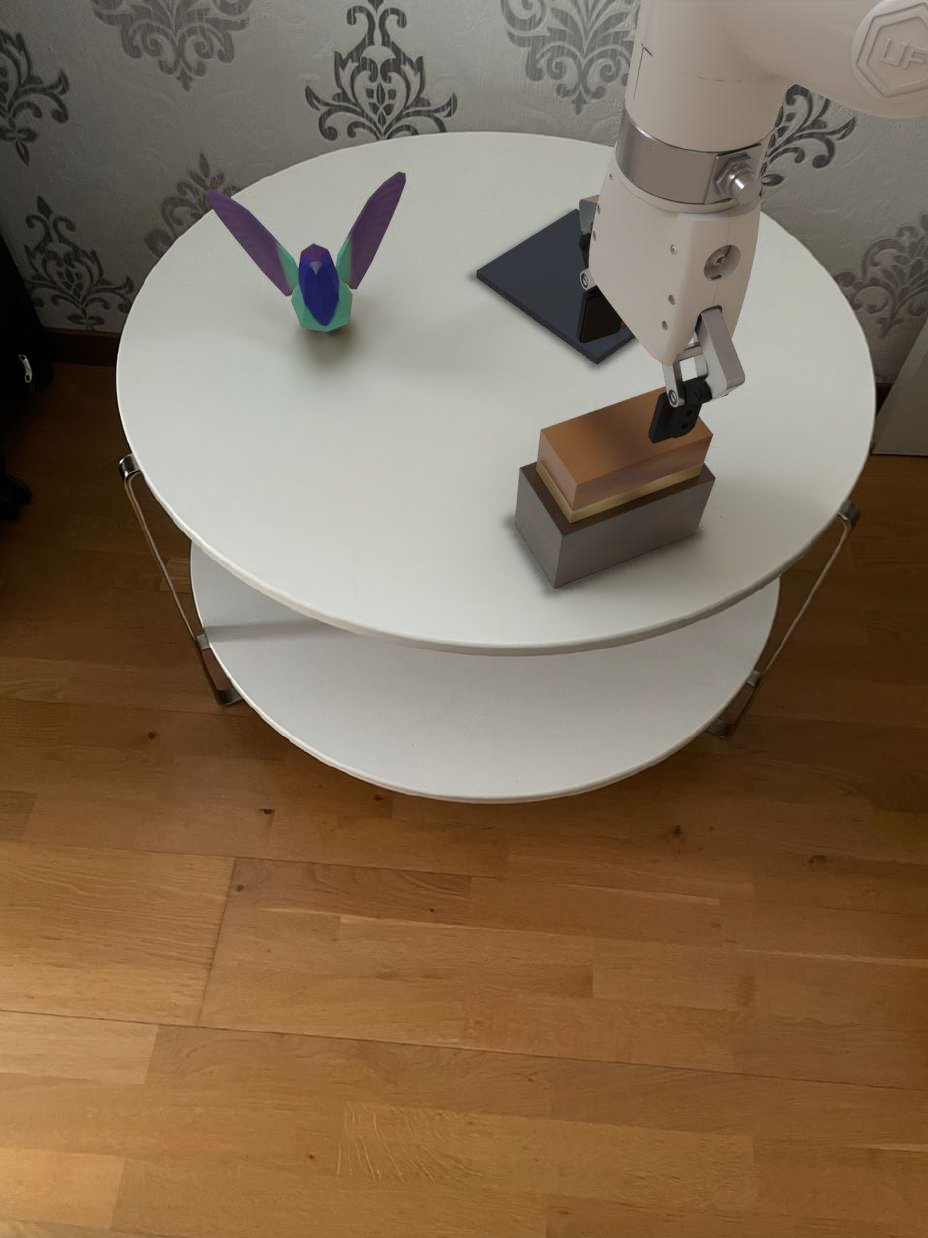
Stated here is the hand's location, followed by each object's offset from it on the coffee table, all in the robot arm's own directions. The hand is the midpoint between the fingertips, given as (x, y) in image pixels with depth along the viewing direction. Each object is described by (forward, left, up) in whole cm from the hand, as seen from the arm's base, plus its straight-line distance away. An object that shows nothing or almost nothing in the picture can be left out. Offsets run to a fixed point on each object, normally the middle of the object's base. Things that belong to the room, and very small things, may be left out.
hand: (632, 383), depth 63 cm
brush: (0, 0, -9) cm, 9 cm away
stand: (0, 0, -16) cm, 16 cm away
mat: (+21, -20, -16) cm, 33 cm away
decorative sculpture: (+32, +3, -16) cm, 36 cm away
